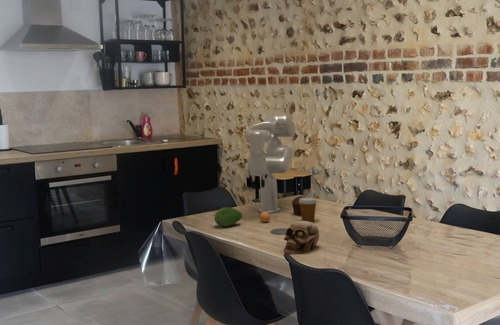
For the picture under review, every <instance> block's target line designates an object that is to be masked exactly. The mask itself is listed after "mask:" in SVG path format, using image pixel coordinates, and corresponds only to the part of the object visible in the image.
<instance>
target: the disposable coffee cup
mask: <svg viewBox="0 0 500 325" xmlns="http://www.w3.org/2000/svg"><path fill="white" fill-rule="evenodd" d="M317 202H318V201H317V199H316V197H309V196H305V198H300V200H299V203H300V209H301V215H302V216H301V221H308V222H312V223H314V222H315V215H316V204H317Z"/></svg>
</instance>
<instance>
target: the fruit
mask: <svg viewBox="0 0 500 325" xmlns="http://www.w3.org/2000/svg"><path fill="white" fill-rule="evenodd" d="M242 218H243V213H241V211H240V210H238V209H236V208H232V207H228V206H226V207H221V208H219V209H218V210H217V212H216V213H215V215H214V222H215V224H217V225H218V226H220V227H224V228H226V227H231V226H234V225H235V224H236V223H238V222H239V221H241V219H242Z"/></svg>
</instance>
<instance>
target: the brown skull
mask: <svg viewBox="0 0 500 325" xmlns="http://www.w3.org/2000/svg"><path fill="white" fill-rule="evenodd" d="M319 239H320V231H319V227H318V226H317V225H316V224H315V223H314V222H308V221H302V220H300V221H299V220H298V221H294V222H292V223H291V225H290V226H289V227H288V228H287V232H286V234H285V237H284V238H283V241H286V242H285V247H284V250H283V253H284V254H286V253H287V254H286V255H298V254H299V255H300V254H304V253H308V252H309V251H310V249H313V248H314V247H315V246H316V245H317V244H318V242H319Z"/></svg>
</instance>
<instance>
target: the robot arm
mask: <svg viewBox="0 0 500 325" xmlns="http://www.w3.org/2000/svg"><path fill="white" fill-rule="evenodd" d="M295 133H296V126H295V125H294V122H293V121H292V119H291V118H290V116H289V115H287V114H269V115H267V116H266V118H265V119H264V120H263V121H262V122H260V123H259V122H258V123H257V124H254V125H251V126H249V128H248V129H247V130H246V131H245V134H244V138H245V139H244V141H246V143H248V144H249V157H248V160H247V172H246V173H245V177H246V178H248V179H249V180H250V181H251V187H252V189H254V190H255V189H256V180H255V178H256V176H259V183H260V185H259V186H260V208H258V212H259V213H262V212H268V213H269V214H271V213H272V214H273V213H274V214H275V213H279V212H281V208H280V207H278V204H279V203H278V183H277V179H276V178H277V177H276V176H275V175H274V174H285V173H287V172H288V170H289V167H290V165H291V161H292V158H293V152H292V148H291V147H290V146H288V145H283V142H282V141H281V140H280V139H279V138H290V137H291V138H292V137H293V136H294V135H295ZM265 144H267V146H266V149H265Z"/></svg>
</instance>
